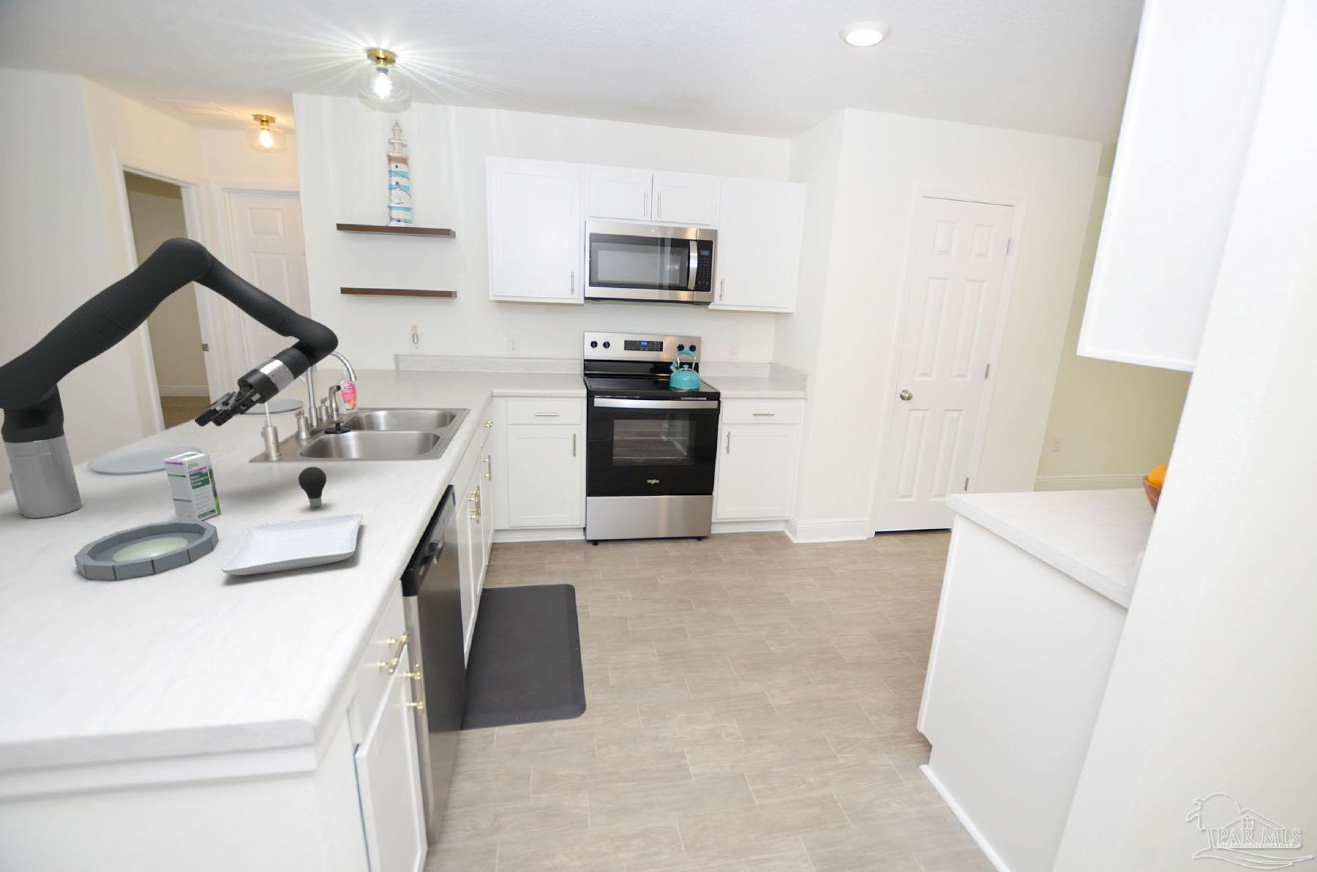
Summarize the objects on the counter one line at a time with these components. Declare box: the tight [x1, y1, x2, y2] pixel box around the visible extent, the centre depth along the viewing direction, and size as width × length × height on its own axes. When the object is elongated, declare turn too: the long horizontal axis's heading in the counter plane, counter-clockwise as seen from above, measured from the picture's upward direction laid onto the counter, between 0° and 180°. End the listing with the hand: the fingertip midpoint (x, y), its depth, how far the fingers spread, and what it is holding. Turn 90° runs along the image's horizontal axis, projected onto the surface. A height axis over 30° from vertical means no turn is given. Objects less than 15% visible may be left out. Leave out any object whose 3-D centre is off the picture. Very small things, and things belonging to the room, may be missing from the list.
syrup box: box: [163, 451, 222, 521], centre depth 126 cm, size 6×6×14 cm
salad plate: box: [221, 513, 363, 576], centre depth 113 cm, size 21×21×3 cm
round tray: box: [73, 519, 219, 581], centre depth 110 cm, size 20×20×3 cm
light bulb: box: [297, 466, 327, 509], centre depth 134 cm, size 6×6×10 cm
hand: (206, 423), depth 128 cm, fingers open, 8 cm apart
